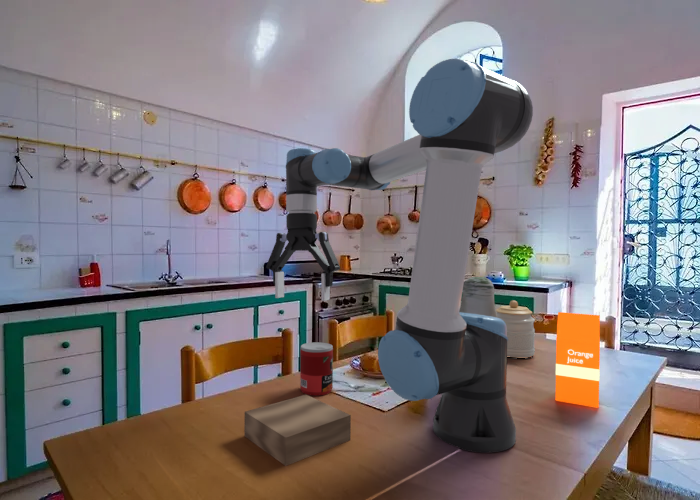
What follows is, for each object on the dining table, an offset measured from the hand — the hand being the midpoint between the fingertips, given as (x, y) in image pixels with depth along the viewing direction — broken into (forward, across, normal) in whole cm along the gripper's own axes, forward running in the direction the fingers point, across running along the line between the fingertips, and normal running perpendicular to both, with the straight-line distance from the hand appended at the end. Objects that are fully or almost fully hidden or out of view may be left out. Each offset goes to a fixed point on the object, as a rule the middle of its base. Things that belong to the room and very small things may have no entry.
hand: (302, 299), depth 106 cm
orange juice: (+23, -60, -24) cm, 69 cm away
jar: (+23, -42, -60) cm, 77 cm away
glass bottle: (+23, -39, -19) cm, 49 cm away
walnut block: (+23, -14, +23) cm, 35 cm away
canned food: (+22, -4, 0) cm, 23 cm away
